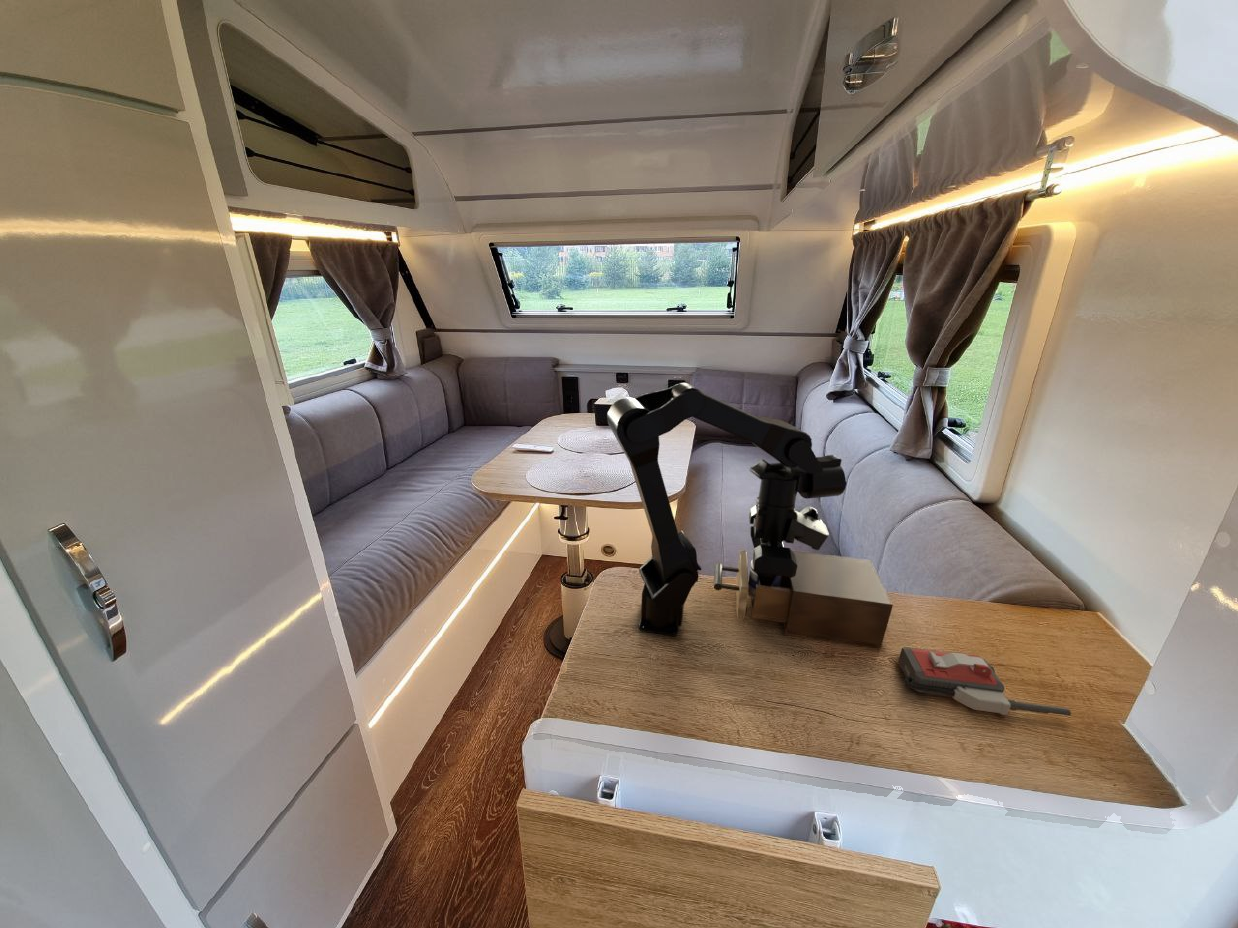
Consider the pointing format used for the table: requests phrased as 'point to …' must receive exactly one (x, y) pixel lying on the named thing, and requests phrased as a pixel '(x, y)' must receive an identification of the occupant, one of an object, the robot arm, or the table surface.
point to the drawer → (756, 593)
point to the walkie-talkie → (962, 681)
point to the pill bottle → (755, 581)
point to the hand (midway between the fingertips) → (764, 579)
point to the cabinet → (838, 600)
